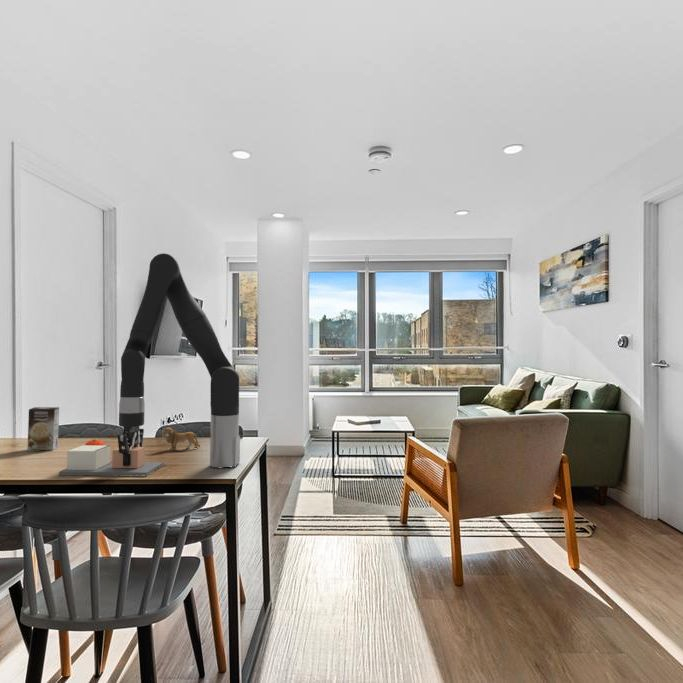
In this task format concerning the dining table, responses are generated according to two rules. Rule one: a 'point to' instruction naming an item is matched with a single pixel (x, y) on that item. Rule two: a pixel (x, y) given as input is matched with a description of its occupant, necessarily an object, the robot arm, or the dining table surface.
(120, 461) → the stub
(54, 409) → the coffee box
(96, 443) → the clementine
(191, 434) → the lion figurine
